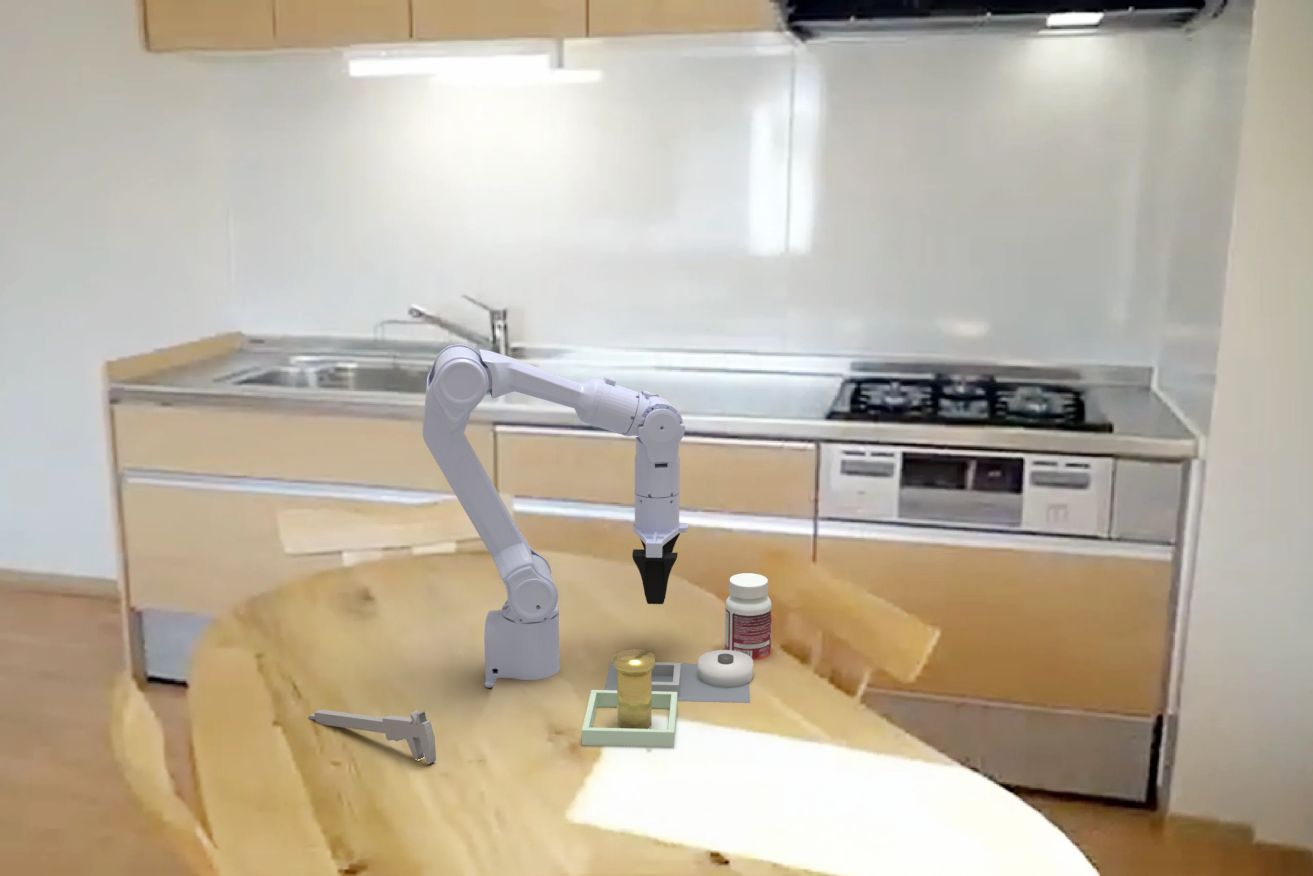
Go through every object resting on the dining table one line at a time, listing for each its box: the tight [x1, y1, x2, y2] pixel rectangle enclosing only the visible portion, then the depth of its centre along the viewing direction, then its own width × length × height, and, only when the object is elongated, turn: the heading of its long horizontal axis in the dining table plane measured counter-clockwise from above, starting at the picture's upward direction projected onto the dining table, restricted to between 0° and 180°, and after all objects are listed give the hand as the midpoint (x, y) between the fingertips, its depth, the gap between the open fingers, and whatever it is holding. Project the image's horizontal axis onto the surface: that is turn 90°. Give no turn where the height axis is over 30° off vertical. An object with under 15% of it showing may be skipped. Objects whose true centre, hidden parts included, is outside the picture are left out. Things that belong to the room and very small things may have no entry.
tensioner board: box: [604, 649, 754, 704], centre depth 155 cm, size 18×11×4 cm, turn 87°
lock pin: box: [613, 648, 656, 729], centre depth 143 cm, size 5×5×9 cm
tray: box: [581, 689, 678, 749], centre depth 144 cm, size 10×10×3 cm
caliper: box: [307, 709, 437, 765], centre depth 142 cm, size 20×1×6 cm, turn 55°
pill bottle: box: [724, 572, 773, 661], centre depth 163 cm, size 6×6×11 cm
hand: (657, 592), depth 160 cm, fingers open, 7 cm apart
